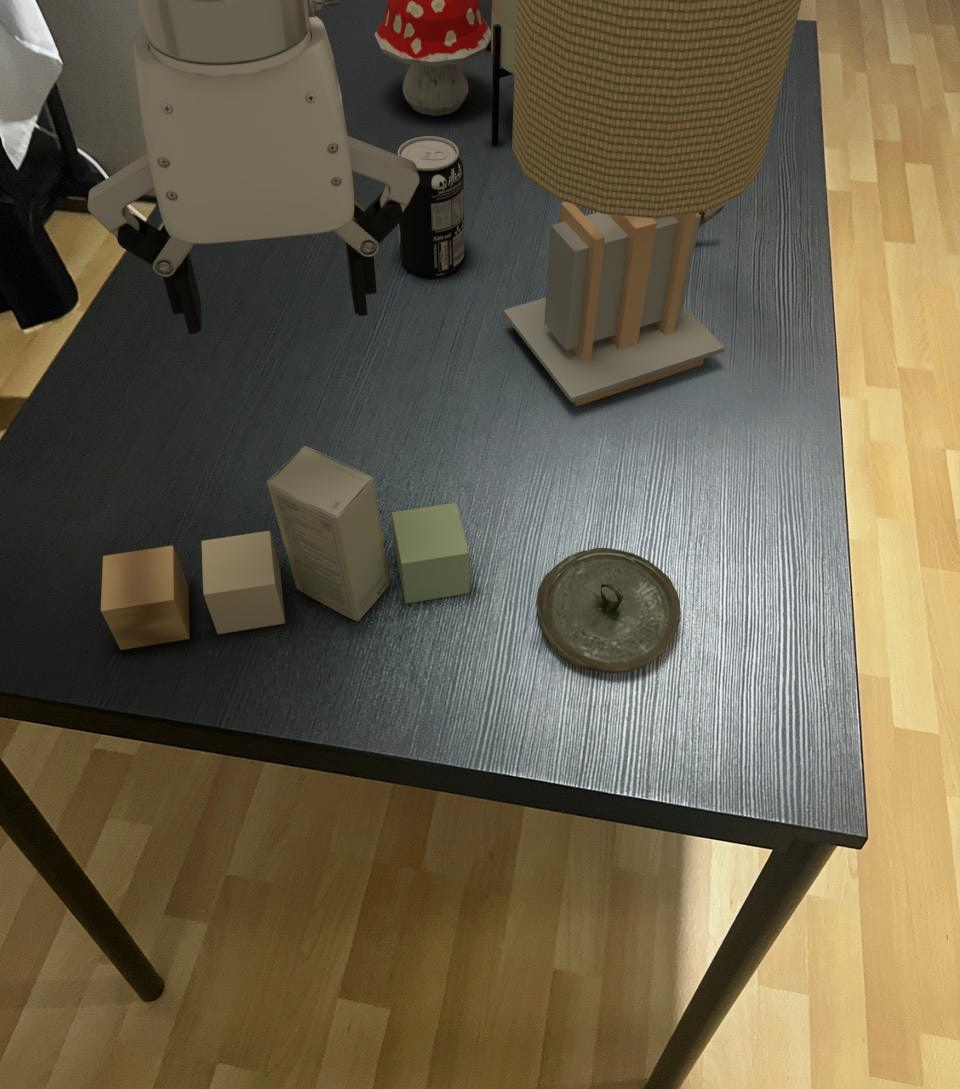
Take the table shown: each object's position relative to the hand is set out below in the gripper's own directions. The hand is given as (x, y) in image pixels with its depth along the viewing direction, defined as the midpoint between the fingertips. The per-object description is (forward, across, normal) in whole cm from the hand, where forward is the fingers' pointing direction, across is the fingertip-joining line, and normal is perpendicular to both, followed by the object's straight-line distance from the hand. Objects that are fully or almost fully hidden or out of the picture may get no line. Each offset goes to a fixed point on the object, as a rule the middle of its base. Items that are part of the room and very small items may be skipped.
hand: (278, 310), depth 59 cm
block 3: (+24, -8, +3) cm, 26 cm away
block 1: (+24, +13, +3) cm, 28 cm away
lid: (+24, -20, +9) cm, 33 cm away
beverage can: (+24, -15, -38) cm, 47 cm away
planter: (+24, -33, -61) cm, 73 cm away
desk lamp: (+24, -29, -21) cm, 43 cm away
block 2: (+24, +6, +3) cm, 25 cm away
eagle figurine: (+24, -41, -39) cm, 61 cm away
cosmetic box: (+24, -1, +3) cm, 25 cm away
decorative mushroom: (+24, -20, -70) cm, 76 cm away
